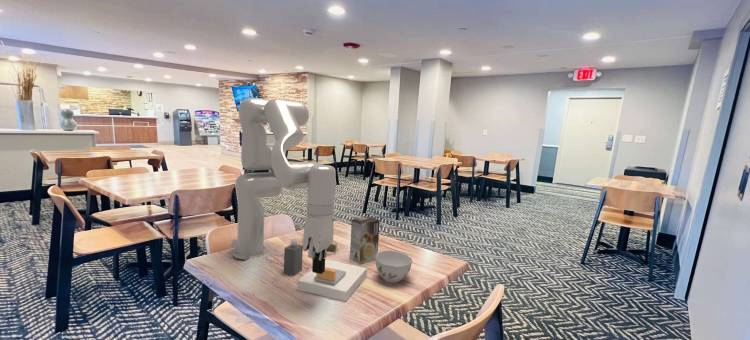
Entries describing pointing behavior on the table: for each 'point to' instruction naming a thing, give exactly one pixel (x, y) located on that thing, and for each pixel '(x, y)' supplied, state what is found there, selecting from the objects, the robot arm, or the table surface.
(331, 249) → the cake
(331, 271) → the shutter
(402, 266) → the white bowl
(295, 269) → the plug
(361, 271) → the socket board
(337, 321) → the table surface
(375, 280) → the table surface
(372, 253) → the coffee box
